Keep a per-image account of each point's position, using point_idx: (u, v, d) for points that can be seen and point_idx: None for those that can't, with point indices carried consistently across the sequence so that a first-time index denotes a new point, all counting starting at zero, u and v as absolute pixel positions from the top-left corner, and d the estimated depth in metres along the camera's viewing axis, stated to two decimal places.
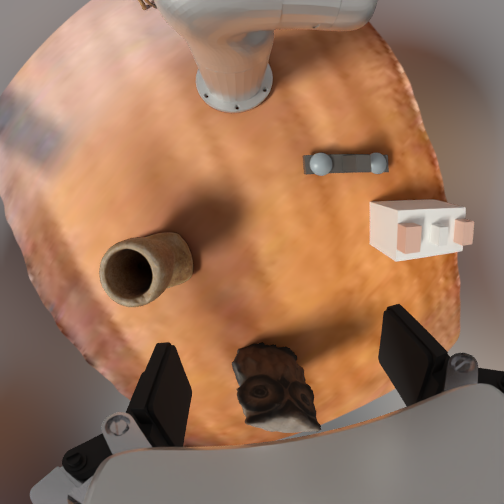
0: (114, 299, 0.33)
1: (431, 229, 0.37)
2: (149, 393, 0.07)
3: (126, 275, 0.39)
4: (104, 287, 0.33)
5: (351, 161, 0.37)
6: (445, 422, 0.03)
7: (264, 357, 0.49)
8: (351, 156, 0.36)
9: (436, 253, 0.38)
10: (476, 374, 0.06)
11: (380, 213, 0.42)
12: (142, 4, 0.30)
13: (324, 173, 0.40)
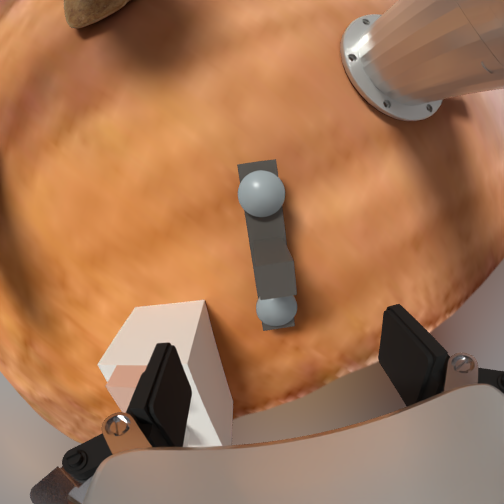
0: None
1: None
2: (149, 393, 0.07)
3: None
4: None
5: (274, 253, 0.19)
6: (445, 422, 0.03)
7: None
8: (287, 252, 0.19)
9: None
10: (476, 374, 0.06)
11: (183, 323, 0.23)
12: None
13: (242, 201, 0.21)
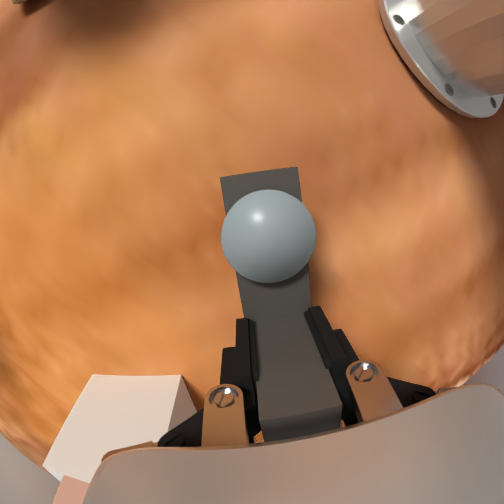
0: None
1: None
2: (250, 361, 0.09)
3: None
4: None
5: (298, 372, 0.08)
6: (445, 422, 0.03)
7: None
8: (323, 370, 0.08)
9: None
10: (384, 376, 0.07)
11: (149, 417, 0.14)
12: None
13: (231, 253, 0.10)
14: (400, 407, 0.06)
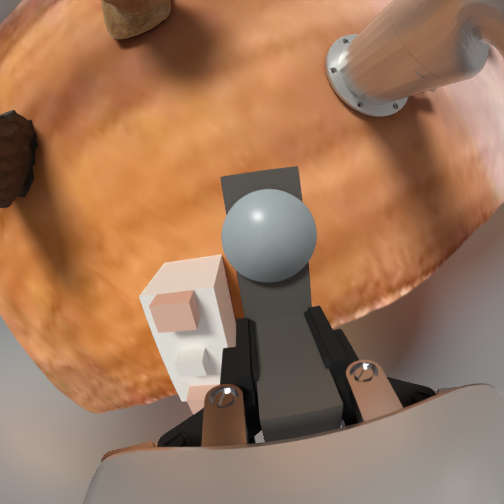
0: None
1: (197, 349, 0.28)
2: (250, 361, 0.09)
3: None
4: None
5: (298, 372, 0.08)
6: (445, 422, 0.03)
7: (18, 148, 0.25)
8: (323, 370, 0.08)
9: (166, 362, 0.29)
10: (384, 376, 0.07)
11: (206, 267, 0.31)
12: None
13: (231, 253, 0.10)
14: (400, 407, 0.06)
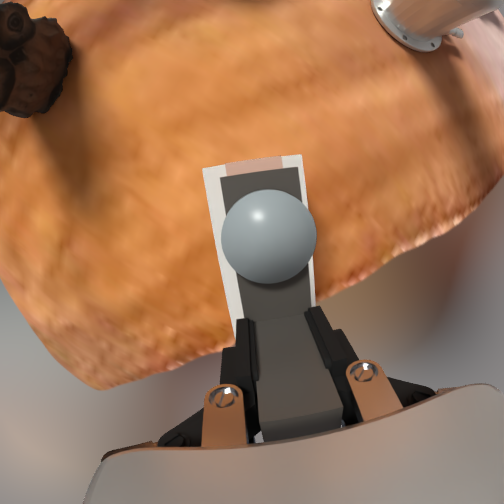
0: None
1: None
2: (250, 361, 0.09)
3: None
4: None
5: (298, 373, 0.08)
6: (445, 422, 0.03)
7: (53, 52, 0.20)
8: (323, 372, 0.08)
9: (224, 271, 0.24)
10: (384, 376, 0.07)
11: None
12: None
13: (231, 254, 0.10)
14: (400, 407, 0.06)
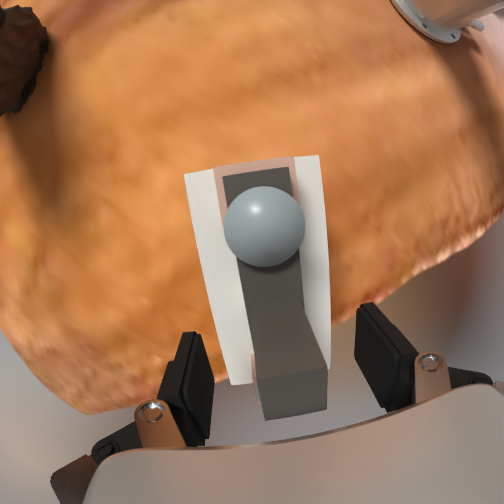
0: None
1: None
2: (182, 379, 0.08)
3: None
4: None
5: (290, 341, 0.10)
6: (445, 422, 0.03)
7: (26, 44, 0.15)
8: (311, 340, 0.10)
9: (216, 309, 0.18)
10: (446, 371, 0.06)
11: None
12: None
13: (232, 241, 0.12)
14: None
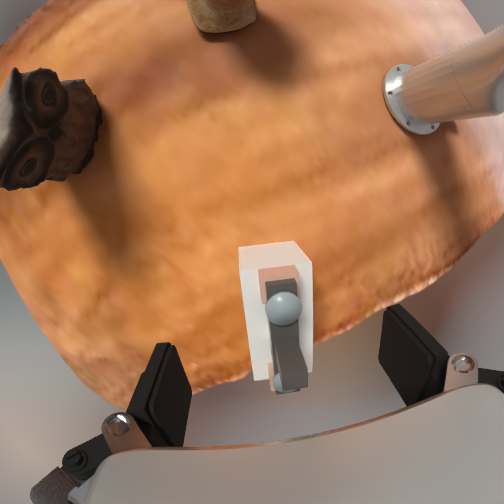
0: None
1: None
2: (149, 393, 0.07)
3: None
4: None
5: (293, 359, 0.24)
6: (445, 422, 0.03)
7: (85, 119, 0.29)
8: (302, 358, 0.24)
9: (251, 338, 0.32)
10: (476, 374, 0.06)
11: (289, 249, 0.35)
12: None
13: (269, 315, 0.26)
14: None
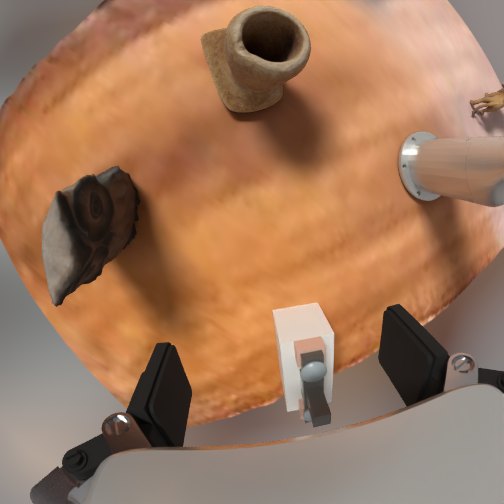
0: (241, 16, 0.20)
1: None
2: (149, 393, 0.07)
3: (247, 36, 0.27)
4: (256, 8, 0.20)
5: (320, 406, 0.32)
6: (445, 422, 0.03)
7: (126, 207, 0.36)
8: (326, 405, 0.32)
9: (286, 385, 0.40)
10: (476, 374, 0.06)
11: (315, 315, 0.42)
12: (476, 102, 0.34)
13: (303, 377, 0.34)
14: None
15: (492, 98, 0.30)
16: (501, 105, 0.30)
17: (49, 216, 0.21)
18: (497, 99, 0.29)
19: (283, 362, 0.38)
